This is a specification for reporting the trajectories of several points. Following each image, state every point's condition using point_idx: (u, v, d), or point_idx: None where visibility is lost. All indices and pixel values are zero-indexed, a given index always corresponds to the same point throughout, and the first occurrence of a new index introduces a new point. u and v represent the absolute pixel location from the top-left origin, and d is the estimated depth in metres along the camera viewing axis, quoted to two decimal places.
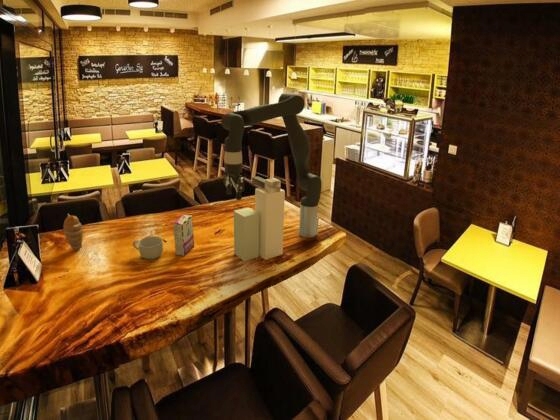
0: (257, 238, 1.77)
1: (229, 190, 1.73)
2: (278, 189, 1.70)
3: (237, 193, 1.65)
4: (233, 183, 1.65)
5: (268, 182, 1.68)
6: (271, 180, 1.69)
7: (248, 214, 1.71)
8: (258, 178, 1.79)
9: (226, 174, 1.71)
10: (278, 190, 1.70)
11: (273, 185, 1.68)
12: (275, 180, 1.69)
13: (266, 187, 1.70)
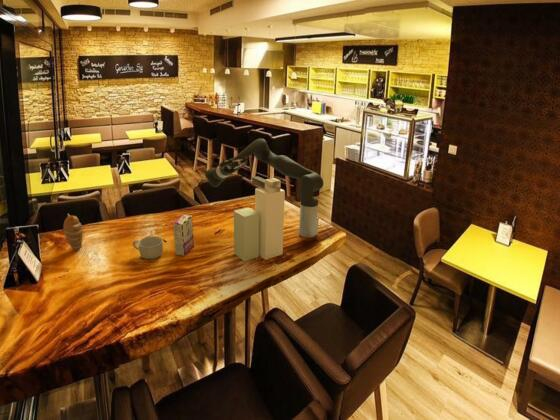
0: (257, 238, 1.77)
1: None
2: (278, 189, 1.70)
3: None
4: (236, 160, 1.98)
5: (268, 182, 1.68)
6: (271, 180, 1.69)
7: (248, 214, 1.71)
8: (258, 178, 1.79)
9: None
10: (278, 190, 1.70)
11: (273, 185, 1.68)
12: (275, 180, 1.69)
13: (266, 187, 1.70)
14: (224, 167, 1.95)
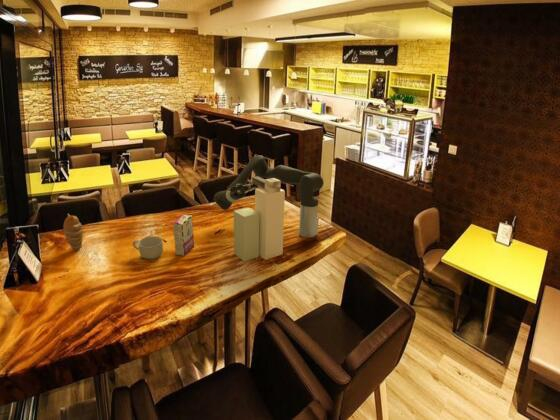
0: (257, 238, 1.77)
1: None
2: (278, 189, 1.70)
3: None
4: None
5: (268, 182, 1.68)
6: (271, 180, 1.69)
7: (248, 214, 1.71)
8: (258, 178, 1.79)
9: None
10: (278, 190, 1.70)
11: (273, 185, 1.68)
12: (275, 180, 1.69)
13: (266, 187, 1.70)
14: (234, 192, 1.90)
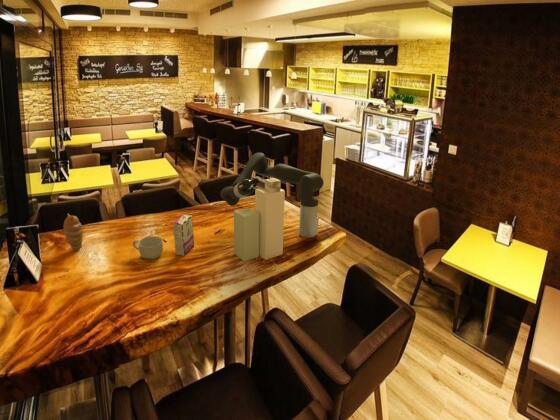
0: (257, 238, 1.77)
1: None
2: (278, 189, 1.70)
3: None
4: None
5: (268, 182, 1.68)
6: (271, 180, 1.69)
7: (248, 214, 1.71)
8: (258, 178, 1.79)
9: None
10: (278, 190, 1.70)
11: (273, 185, 1.68)
12: (275, 180, 1.69)
13: (266, 187, 1.70)
14: None
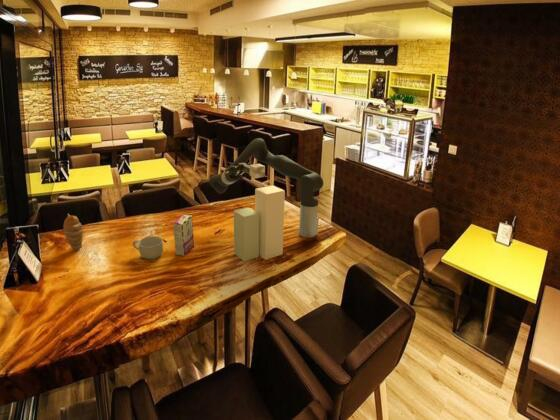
0: (257, 238, 1.77)
1: None
2: (262, 174, 1.74)
3: None
4: None
5: (252, 167, 1.72)
6: (256, 165, 1.73)
7: (248, 214, 1.71)
8: (244, 164, 1.83)
9: None
10: (262, 175, 1.74)
11: (258, 170, 1.72)
12: (259, 165, 1.73)
13: (251, 172, 1.74)
14: (230, 173, 1.87)
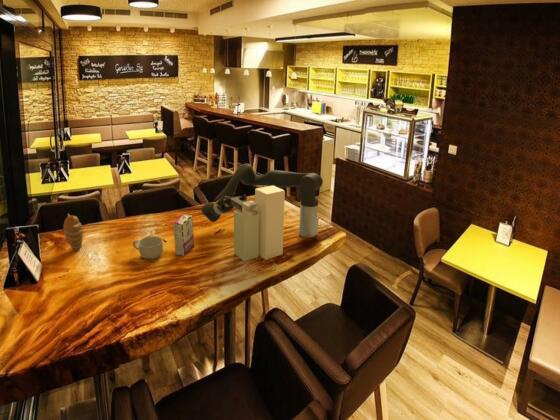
0: (257, 238, 1.77)
1: None
2: (255, 212, 1.71)
3: None
4: (235, 197, 1.86)
5: (245, 205, 1.69)
6: (248, 203, 1.70)
7: None
8: (236, 200, 1.79)
9: None
10: (255, 213, 1.71)
11: (250, 208, 1.68)
12: (252, 203, 1.70)
13: (243, 210, 1.71)
14: None
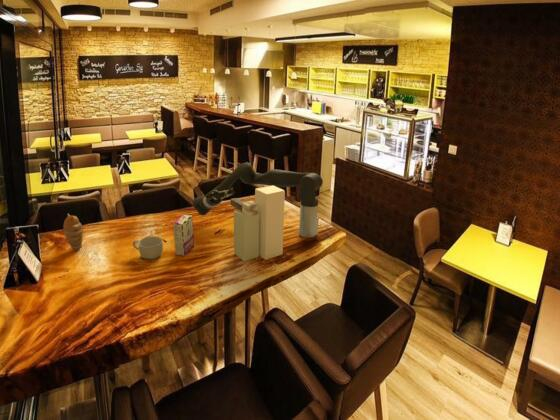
0: (257, 238, 1.77)
1: None
2: (255, 212, 1.71)
3: None
4: (223, 190, 1.94)
5: (245, 205, 1.69)
6: (248, 203, 1.70)
7: None
8: (236, 200, 1.79)
9: None
10: (255, 213, 1.71)
11: (250, 208, 1.68)
12: (252, 203, 1.70)
13: (243, 210, 1.71)
14: (210, 198, 1.92)
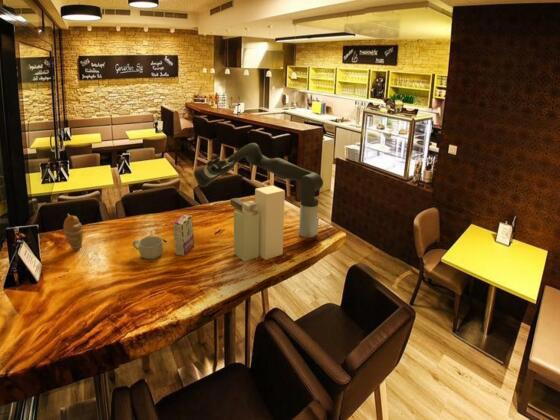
0: (257, 238, 1.77)
1: None
2: (255, 212, 1.71)
3: None
4: (224, 159, 1.96)
5: (245, 205, 1.69)
6: (248, 203, 1.70)
7: None
8: (236, 200, 1.79)
9: None
10: (255, 213, 1.71)
11: (250, 208, 1.68)
12: (252, 203, 1.70)
13: (243, 210, 1.71)
14: (211, 166, 1.93)
